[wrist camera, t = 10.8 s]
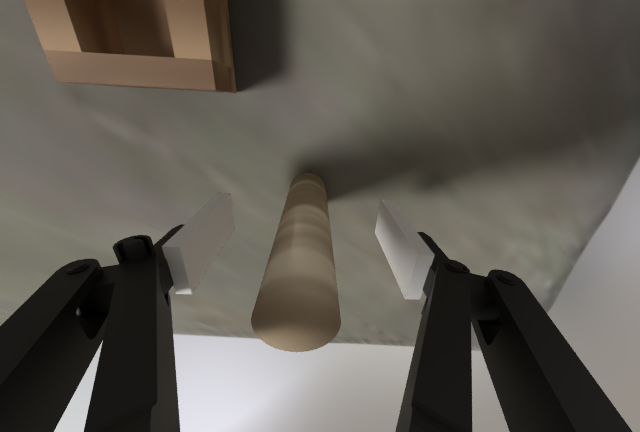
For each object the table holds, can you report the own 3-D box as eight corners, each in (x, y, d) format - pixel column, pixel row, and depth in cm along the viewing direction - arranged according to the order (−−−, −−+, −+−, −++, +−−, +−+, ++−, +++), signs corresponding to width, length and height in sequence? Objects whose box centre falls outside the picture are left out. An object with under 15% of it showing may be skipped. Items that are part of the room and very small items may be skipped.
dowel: (290, 172, 20) (247, 289, 7) (326, 173, 20) (345, 291, 8) (290, 205, 21) (254, 351, 9) (324, 206, 22) (337, 352, 9)
